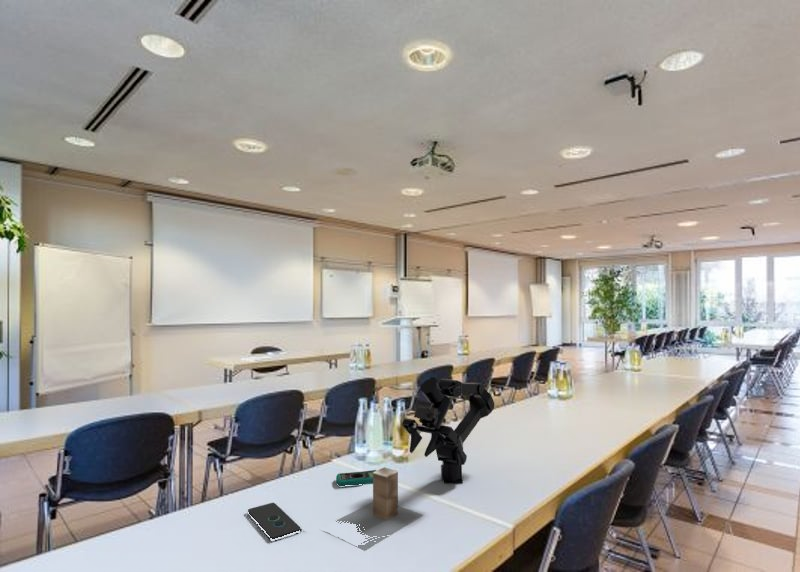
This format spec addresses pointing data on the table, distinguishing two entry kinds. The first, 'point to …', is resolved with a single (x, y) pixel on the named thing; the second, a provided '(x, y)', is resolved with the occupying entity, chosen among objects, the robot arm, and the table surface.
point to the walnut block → (385, 493)
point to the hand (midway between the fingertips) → (417, 454)
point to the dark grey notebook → (273, 520)
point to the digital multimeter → (355, 478)
